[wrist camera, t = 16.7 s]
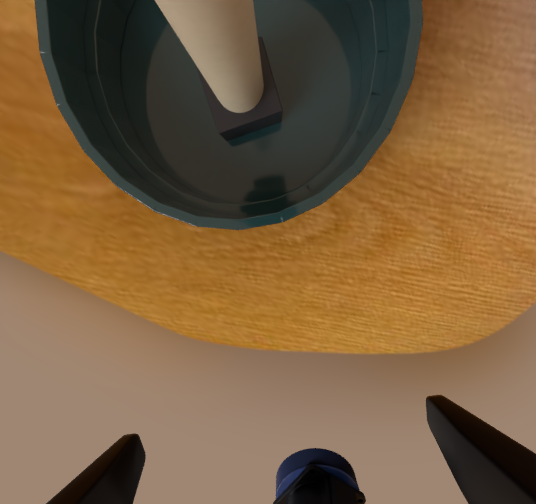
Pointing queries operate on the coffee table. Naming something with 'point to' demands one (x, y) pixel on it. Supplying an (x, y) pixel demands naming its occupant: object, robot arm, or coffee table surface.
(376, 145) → the basin
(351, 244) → the coffee table surface
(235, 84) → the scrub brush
